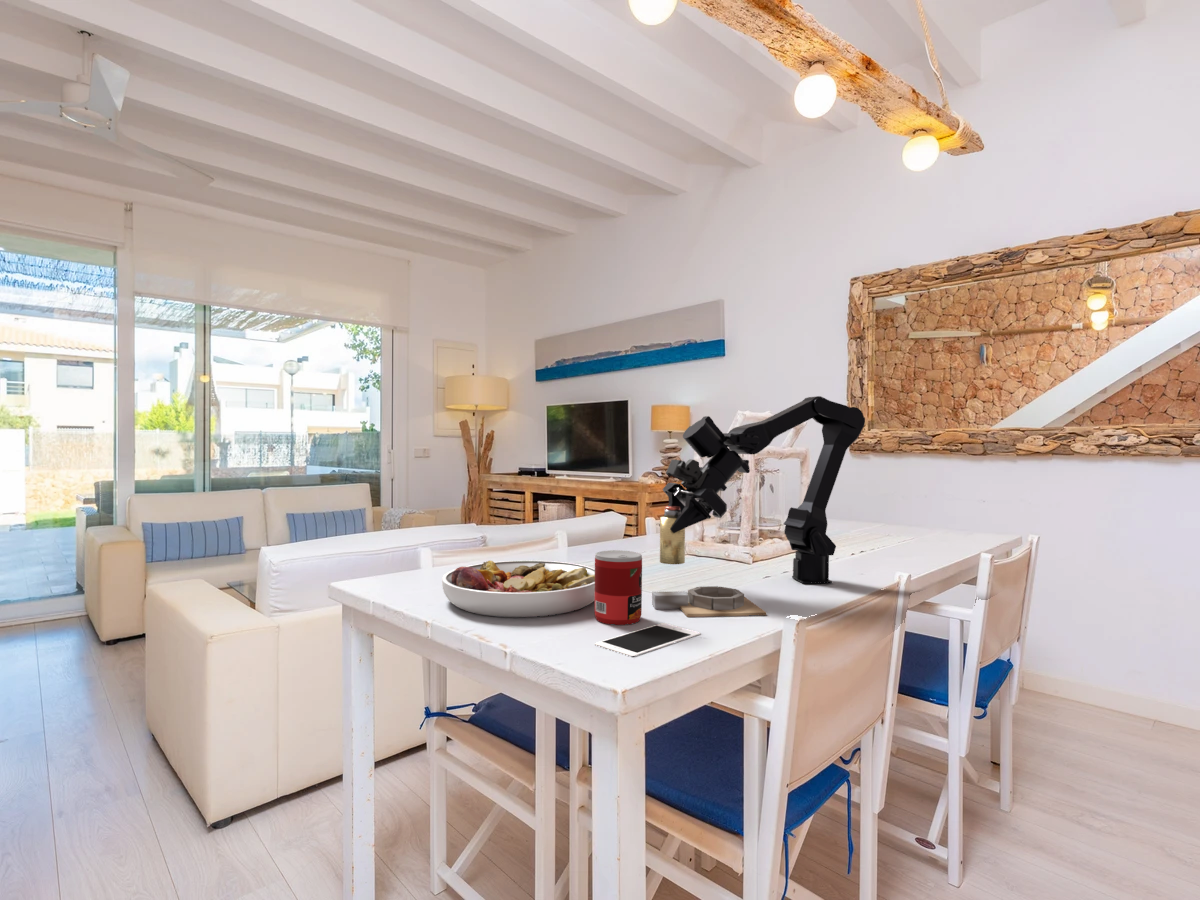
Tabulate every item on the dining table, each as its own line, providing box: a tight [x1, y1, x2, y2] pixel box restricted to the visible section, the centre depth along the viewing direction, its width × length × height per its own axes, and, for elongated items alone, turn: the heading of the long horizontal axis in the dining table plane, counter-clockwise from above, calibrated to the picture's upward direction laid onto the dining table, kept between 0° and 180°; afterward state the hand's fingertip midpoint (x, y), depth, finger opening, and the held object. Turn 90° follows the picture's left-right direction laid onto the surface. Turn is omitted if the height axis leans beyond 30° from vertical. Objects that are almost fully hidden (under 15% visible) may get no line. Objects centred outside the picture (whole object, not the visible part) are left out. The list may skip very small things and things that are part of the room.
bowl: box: [441, 560, 595, 618], centre depth 122 cm, size 30×30×8 cm
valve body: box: [659, 505, 686, 565], centre depth 130 cm, size 5×5×11 cm
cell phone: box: [594, 622, 702, 657], centre depth 98 cm, size 8×16×1 cm, turn 135°
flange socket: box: [651, 585, 767, 618], centre depth 118 cm, size 18×14×2 cm
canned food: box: [594, 549, 643, 626], centre depth 109 cm, size 8×8×11 cm
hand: (666, 529), depth 130 cm, fingers closed on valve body, 5 cm apart
